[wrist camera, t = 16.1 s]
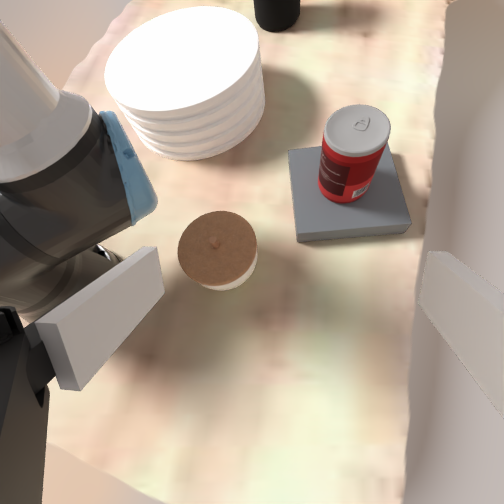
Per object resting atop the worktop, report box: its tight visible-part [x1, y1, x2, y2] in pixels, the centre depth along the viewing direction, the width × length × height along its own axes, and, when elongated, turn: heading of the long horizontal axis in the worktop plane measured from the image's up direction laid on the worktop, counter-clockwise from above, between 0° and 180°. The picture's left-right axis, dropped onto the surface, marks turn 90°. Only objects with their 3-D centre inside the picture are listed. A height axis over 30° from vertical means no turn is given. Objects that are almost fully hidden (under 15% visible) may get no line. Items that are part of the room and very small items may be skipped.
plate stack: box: [105, 6, 265, 161], centre depth 54 cm, size 28×28×12 cm
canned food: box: [318, 105, 391, 204], centre depth 38 cm, size 8×8×11 cm
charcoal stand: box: [288, 142, 412, 242], centre depth 45 cm, size 16×16×3 cm
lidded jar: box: [178, 211, 258, 291], centre depth 40 cm, size 11×11×9 cm
